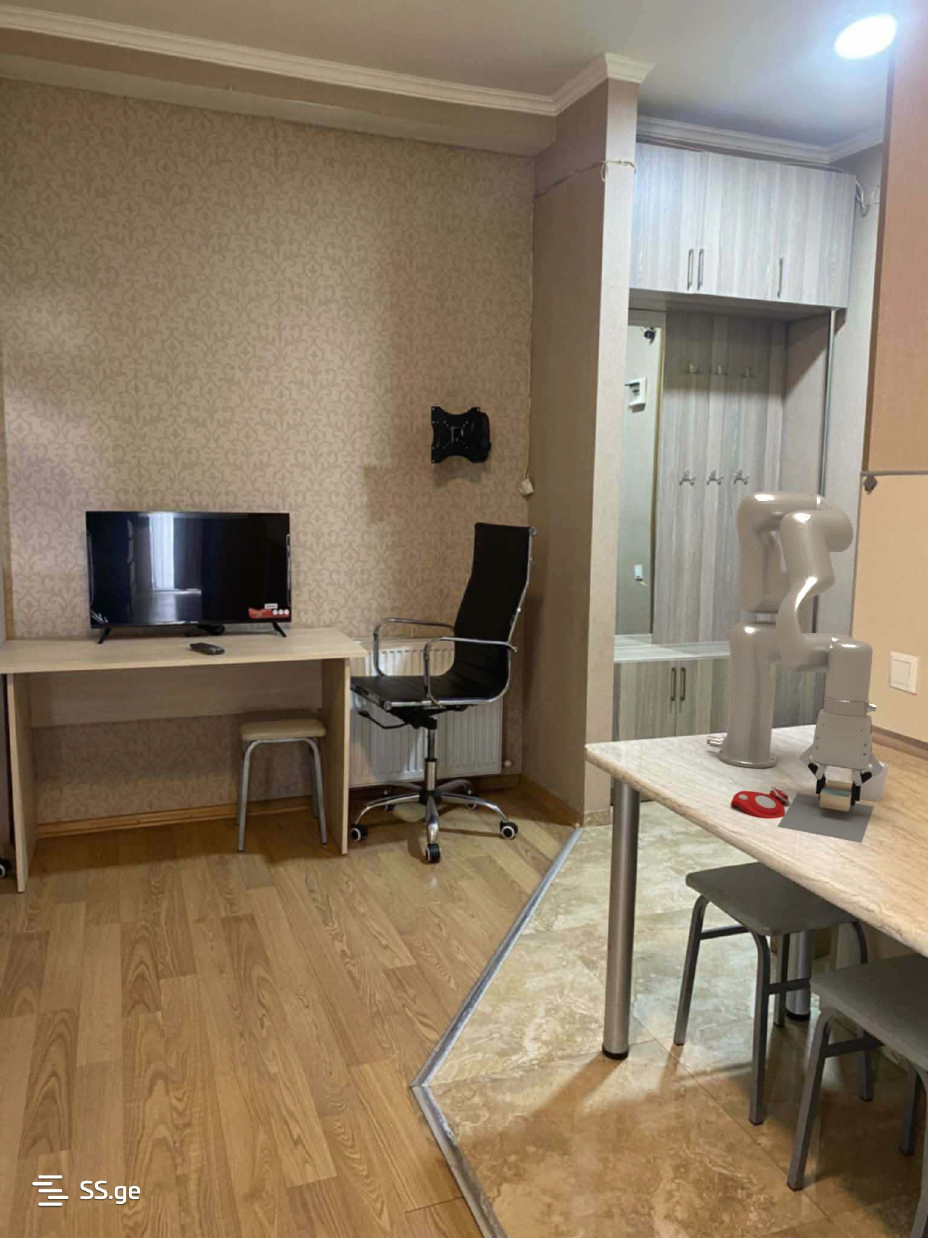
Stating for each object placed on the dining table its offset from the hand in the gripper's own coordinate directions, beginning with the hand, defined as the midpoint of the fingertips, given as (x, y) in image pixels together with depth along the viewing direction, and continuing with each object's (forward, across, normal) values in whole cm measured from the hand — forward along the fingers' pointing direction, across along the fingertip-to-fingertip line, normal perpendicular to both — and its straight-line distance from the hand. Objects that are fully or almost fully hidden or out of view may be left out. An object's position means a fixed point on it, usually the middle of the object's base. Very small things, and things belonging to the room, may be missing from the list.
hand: (837, 800), depth 180 cm
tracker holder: (+3, +12, +6) cm, 14 cm away
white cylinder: (+3, -4, -15) cm, 16 cm away
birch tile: (0, 0, 0) cm, 0 cm away
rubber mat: (+3, +1, +4) cm, 5 cm away
